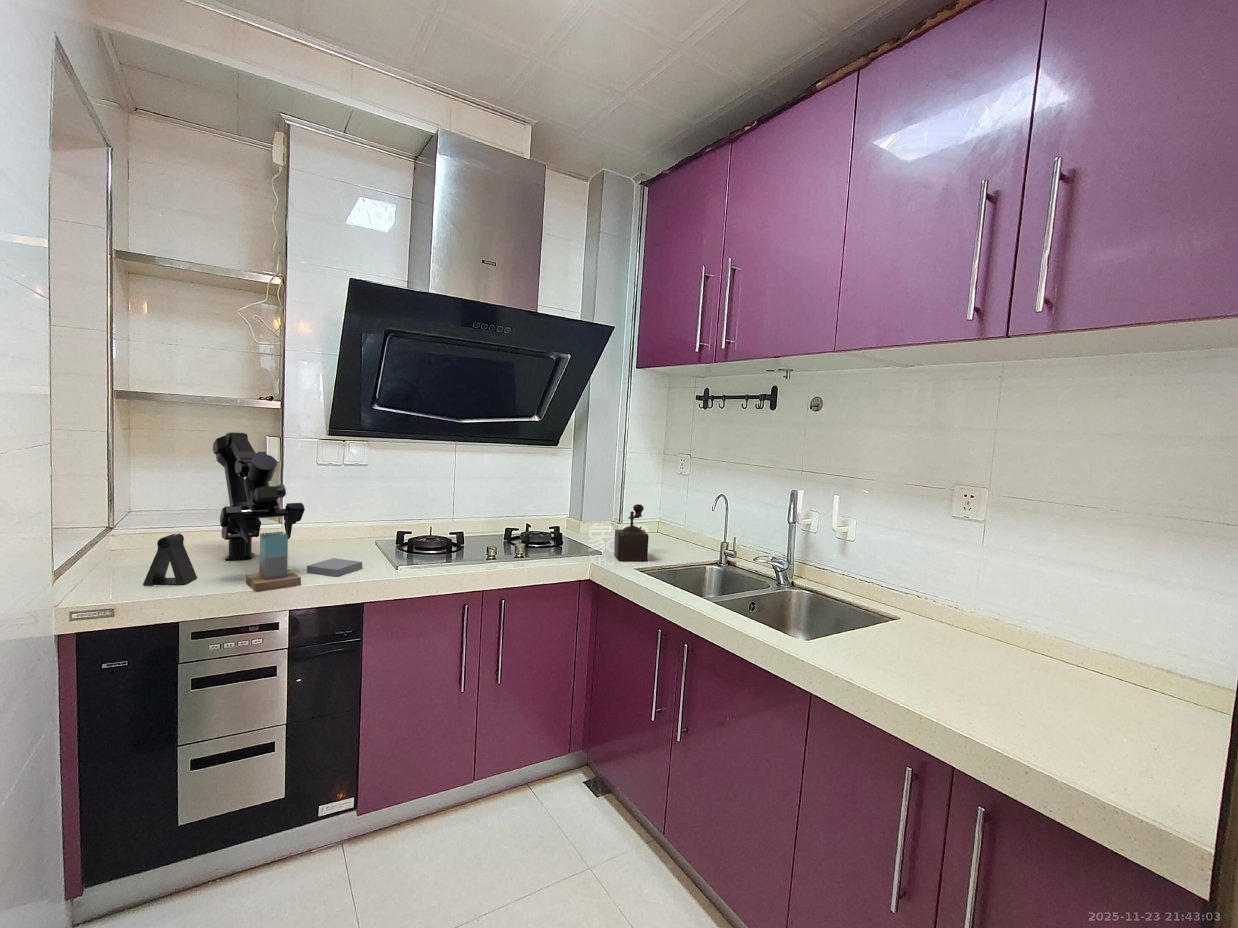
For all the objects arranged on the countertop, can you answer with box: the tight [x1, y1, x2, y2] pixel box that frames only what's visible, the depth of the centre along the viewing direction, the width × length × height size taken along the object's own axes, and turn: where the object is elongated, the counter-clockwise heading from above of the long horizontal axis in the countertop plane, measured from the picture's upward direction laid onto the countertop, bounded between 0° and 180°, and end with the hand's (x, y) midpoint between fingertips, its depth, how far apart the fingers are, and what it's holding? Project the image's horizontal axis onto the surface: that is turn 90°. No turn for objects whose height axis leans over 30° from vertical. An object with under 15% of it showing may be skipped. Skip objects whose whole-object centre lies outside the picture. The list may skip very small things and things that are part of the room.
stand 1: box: [245, 568, 302, 593], centre depth 142 cm, size 10×10×2 cm
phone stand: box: [142, 532, 198, 587], centre depth 139 cm, size 9×6×12 cm, turn 104°
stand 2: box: [306, 557, 363, 578], centre depth 157 cm, size 10×10×2 cm
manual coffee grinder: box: [613, 503, 649, 563], centre depth 194 cm, size 16×11×18 cm
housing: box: [259, 531, 289, 580], centre depth 142 cm, size 5×5×11 cm
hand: (269, 539), depth 144 cm, fingers open, 9 cm apart
